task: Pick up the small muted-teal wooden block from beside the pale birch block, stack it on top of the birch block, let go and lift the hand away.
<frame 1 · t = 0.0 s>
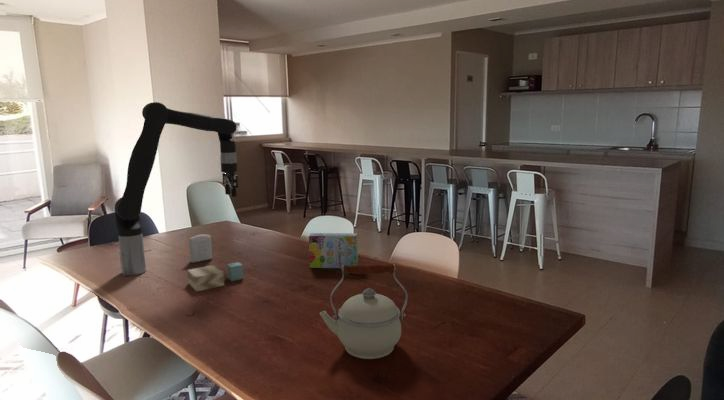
hand: (230, 195, 221), 29 cm above the table, fingers open, 8 cm apart
birch block: (206, 285, 185), on the table
teal block: (235, 278, 192), on the table
snack box: (334, 267, 205), on the table
photo printer: (201, 260, 217), on the table
kettle: (363, 348, 133), on the table
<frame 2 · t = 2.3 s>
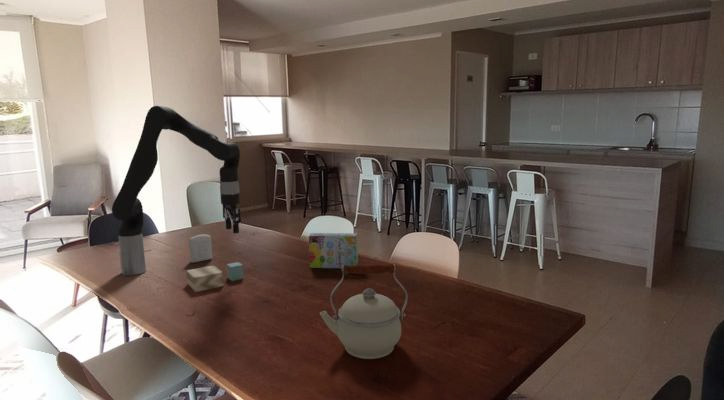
hand: (232, 231, 188), 20 cm above the table, fingers open, 8 cm apart
nothing on the table moved.
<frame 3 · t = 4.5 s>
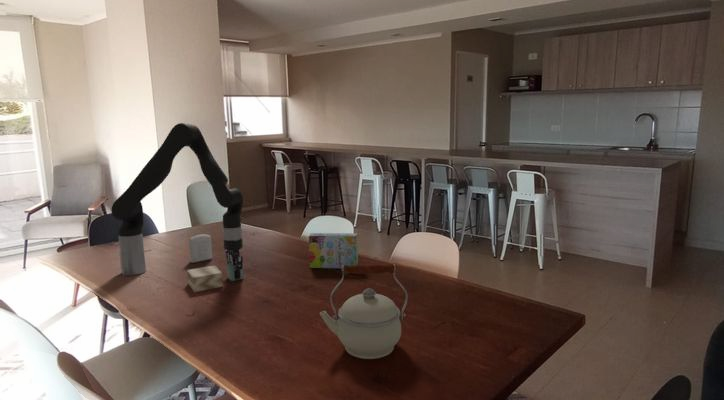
hand: (235, 276, 192), 1 cm above the table, fingers closed on teal block, 5 cm apart
teal block: (235, 278, 192), on the table, touching gripper
everything else where it was.
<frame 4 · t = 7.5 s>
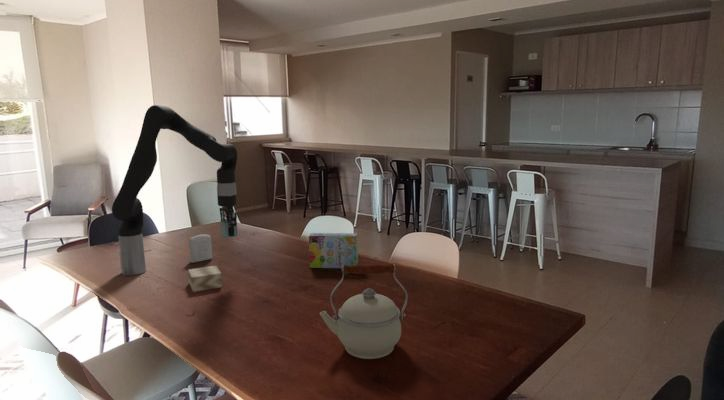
hand: (229, 234, 188), 19 cm above the table, fingers closed on teal block, 5 cm apart
teal block: (229, 235, 188), point 18 cm above the table, touching gripper
everything else where it was.
when the fingers open (8 cm above the table, at t = 10.8 s): teal block drops 1 cm, resting on birch block.
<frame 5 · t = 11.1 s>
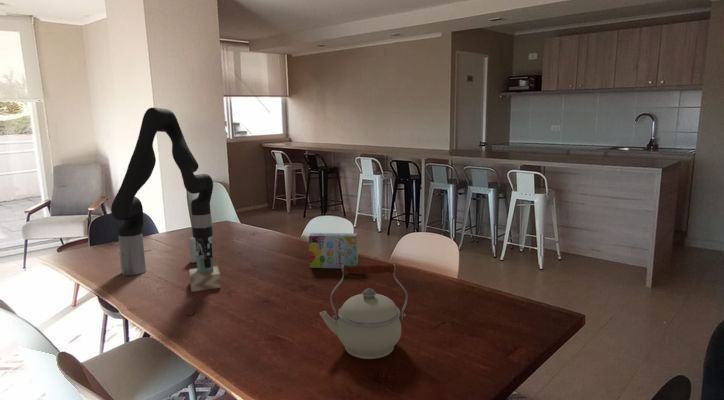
hand: (205, 265, 184), 8 cm above the table, fingers open, 7 cm apart
birch block: (205, 285, 184), on the table, touching teal block
teal block: (205, 270, 184), point 6 cm above the table, touching birch block
everything else where it was.
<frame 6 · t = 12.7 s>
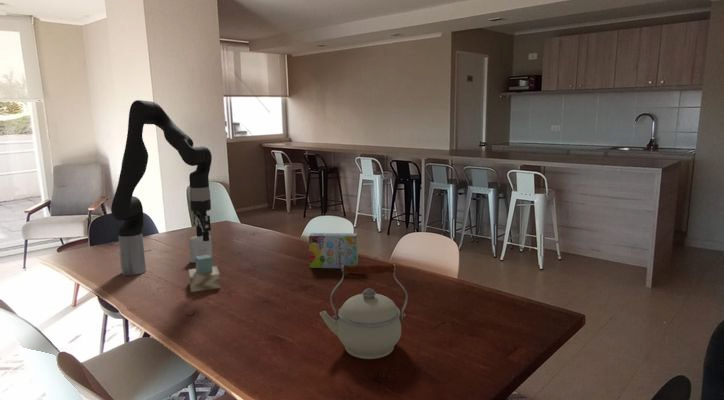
hand: (202, 238, 182), 19 cm above the table, fingers open, 8 cm apart
nothing on the table moved.
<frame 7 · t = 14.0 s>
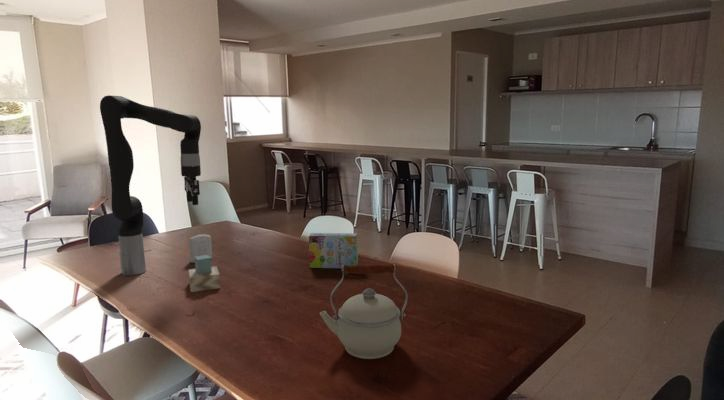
hand: (192, 203, 191), 31 cm above the table, fingers open, 8 cm apart
birch block: (204, 286, 184), on the table
teal block: (203, 271, 183), point 6 cm above the table
everything else where it was.
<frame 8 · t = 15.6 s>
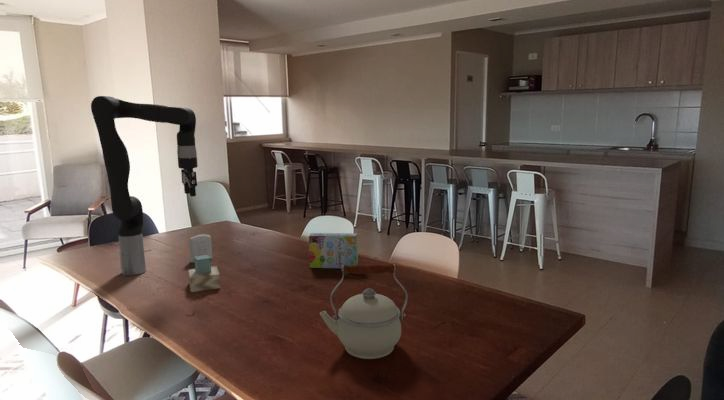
hand: (190, 194, 194), 34 cm above the table, fingers open, 8 cm apart
birch block: (204, 286, 184), on the table, touching teal block
teal block: (203, 271, 183), point 6 cm above the table, touching birch block
everything else where it was.
at the end: teal block inside the target area on the birch block (0.1 cm from its centre), point 6.0 cm above the birch block's base; teal block tilted 0°; the gripper is holding nothing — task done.
